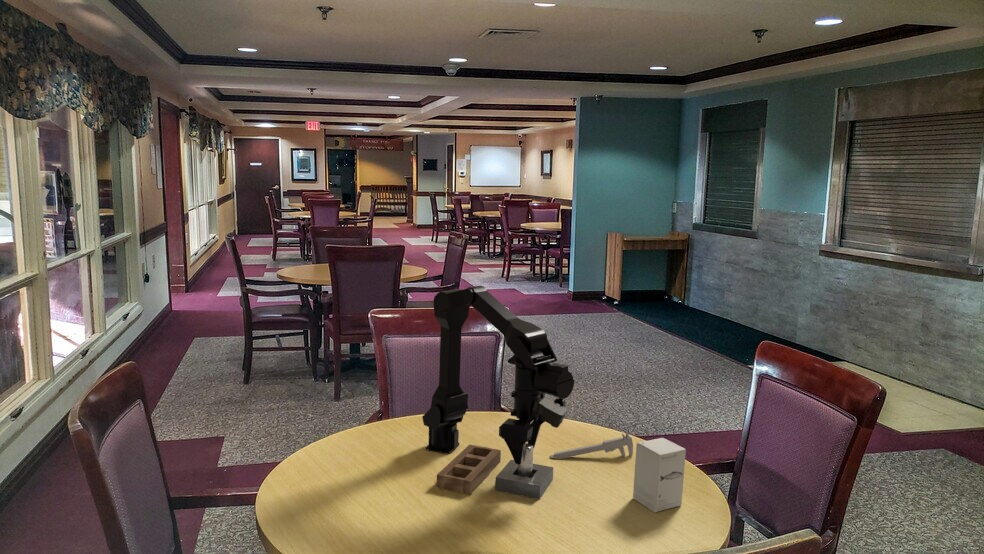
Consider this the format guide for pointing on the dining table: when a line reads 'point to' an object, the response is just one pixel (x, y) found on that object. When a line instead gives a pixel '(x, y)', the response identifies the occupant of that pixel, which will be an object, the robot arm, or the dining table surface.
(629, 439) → the caliper
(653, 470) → the supplement box
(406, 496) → the dining table surface
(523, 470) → the metal peg
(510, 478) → the socket block
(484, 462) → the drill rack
